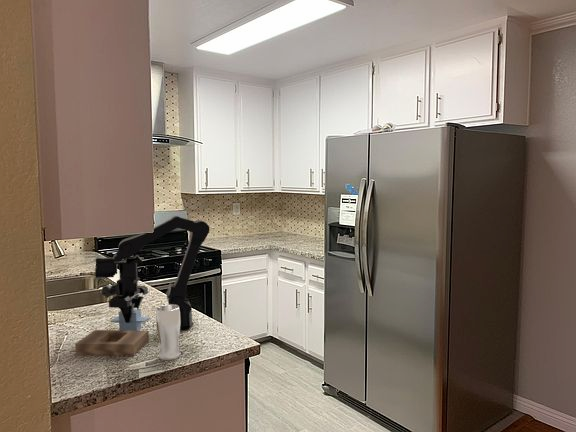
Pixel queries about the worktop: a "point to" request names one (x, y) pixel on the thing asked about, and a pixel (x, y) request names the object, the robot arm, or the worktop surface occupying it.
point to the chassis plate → (112, 342)
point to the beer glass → (168, 331)
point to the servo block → (131, 321)
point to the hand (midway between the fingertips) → (130, 320)
